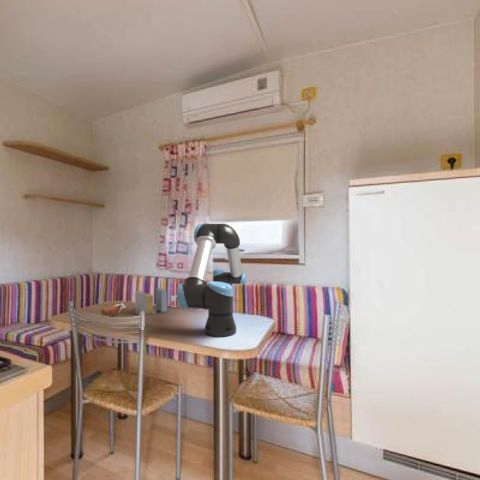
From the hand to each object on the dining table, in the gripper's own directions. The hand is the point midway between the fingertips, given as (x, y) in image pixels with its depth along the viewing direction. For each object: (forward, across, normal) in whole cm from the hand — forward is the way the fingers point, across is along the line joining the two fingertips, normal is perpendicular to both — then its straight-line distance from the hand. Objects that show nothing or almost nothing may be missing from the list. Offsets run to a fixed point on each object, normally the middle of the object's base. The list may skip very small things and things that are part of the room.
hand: (170, 298), depth 178 cm
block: (+14, 0, -6) cm, 16 cm away
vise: (+12, 0, -7) cm, 14 cm away
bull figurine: (+33, 0, -8) cm, 34 cm away
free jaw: (+6, 0, -6) cm, 8 cm away
